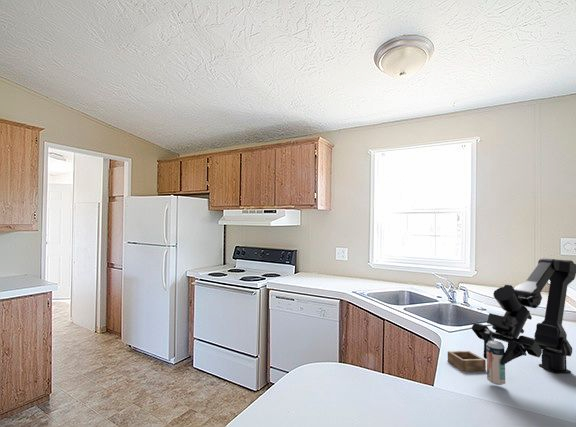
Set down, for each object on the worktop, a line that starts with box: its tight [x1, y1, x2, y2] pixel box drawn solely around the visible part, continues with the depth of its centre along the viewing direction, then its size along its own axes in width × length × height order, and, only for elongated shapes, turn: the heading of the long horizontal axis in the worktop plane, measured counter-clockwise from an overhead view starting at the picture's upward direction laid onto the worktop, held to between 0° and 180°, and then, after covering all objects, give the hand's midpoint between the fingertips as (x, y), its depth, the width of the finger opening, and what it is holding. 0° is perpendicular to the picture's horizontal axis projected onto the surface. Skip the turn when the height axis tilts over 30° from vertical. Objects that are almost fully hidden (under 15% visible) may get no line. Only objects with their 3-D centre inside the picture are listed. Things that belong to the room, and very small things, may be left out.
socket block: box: [447, 350, 487, 372], centre depth 113 cm, size 8×8×4 cm
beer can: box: [486, 340, 506, 386], centre depth 98 cm, size 5×5×12 cm
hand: (492, 360), depth 98 cm, fingers closed on beer can, 5 cm apart
